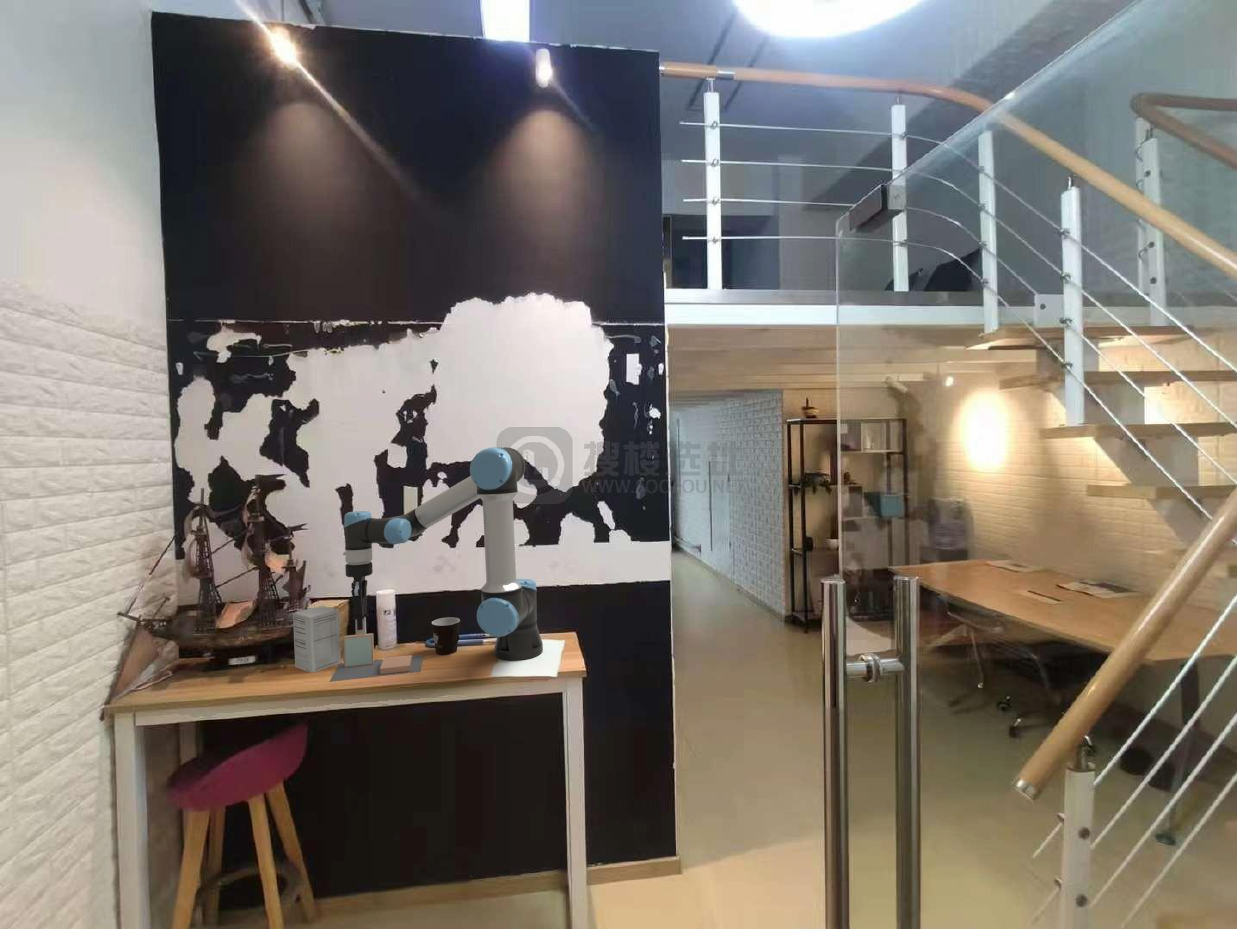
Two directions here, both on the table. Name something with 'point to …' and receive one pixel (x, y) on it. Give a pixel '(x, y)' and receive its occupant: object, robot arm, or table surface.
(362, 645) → the tile
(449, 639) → the coffee mug
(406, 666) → the tile
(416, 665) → the mat
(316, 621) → the supplement box
